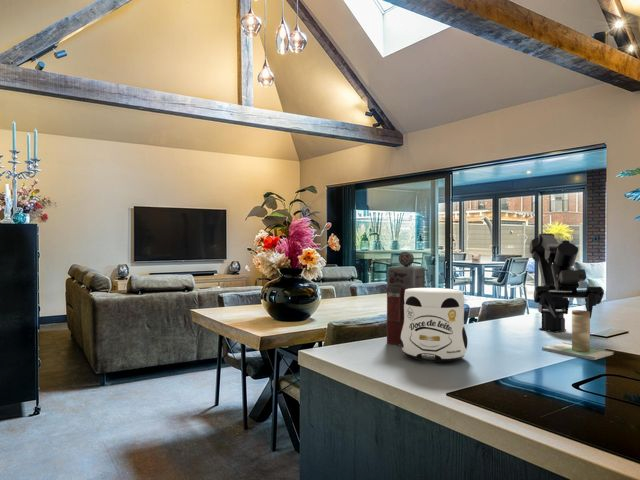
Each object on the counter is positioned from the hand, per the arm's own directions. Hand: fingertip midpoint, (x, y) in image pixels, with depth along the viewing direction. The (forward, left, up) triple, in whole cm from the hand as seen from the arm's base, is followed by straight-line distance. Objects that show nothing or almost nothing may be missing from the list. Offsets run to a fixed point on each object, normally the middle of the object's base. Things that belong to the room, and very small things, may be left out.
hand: (572, 317), depth 136 cm
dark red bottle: (-31, -39, -9) cm, 50 cm away
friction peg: (+5, -6, -8) cm, 11 cm away
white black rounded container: (-14, -45, -9) cm, 48 cm away
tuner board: (+4, -6, -9) cm, 11 cm away
